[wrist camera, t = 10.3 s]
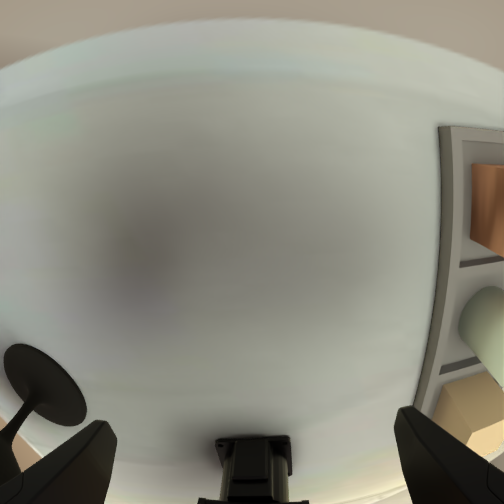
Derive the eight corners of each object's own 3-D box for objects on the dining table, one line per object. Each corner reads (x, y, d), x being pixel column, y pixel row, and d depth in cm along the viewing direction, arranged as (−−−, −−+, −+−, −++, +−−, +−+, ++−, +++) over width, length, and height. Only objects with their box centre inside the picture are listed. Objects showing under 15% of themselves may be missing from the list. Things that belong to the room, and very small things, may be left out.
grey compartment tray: (480, 414, 24) (505, 455, 18) (402, 439, 24) (421, 489, 18) (532, 136, 15) (592, 143, 9) (438, 126, 16) (503, 124, 10)
